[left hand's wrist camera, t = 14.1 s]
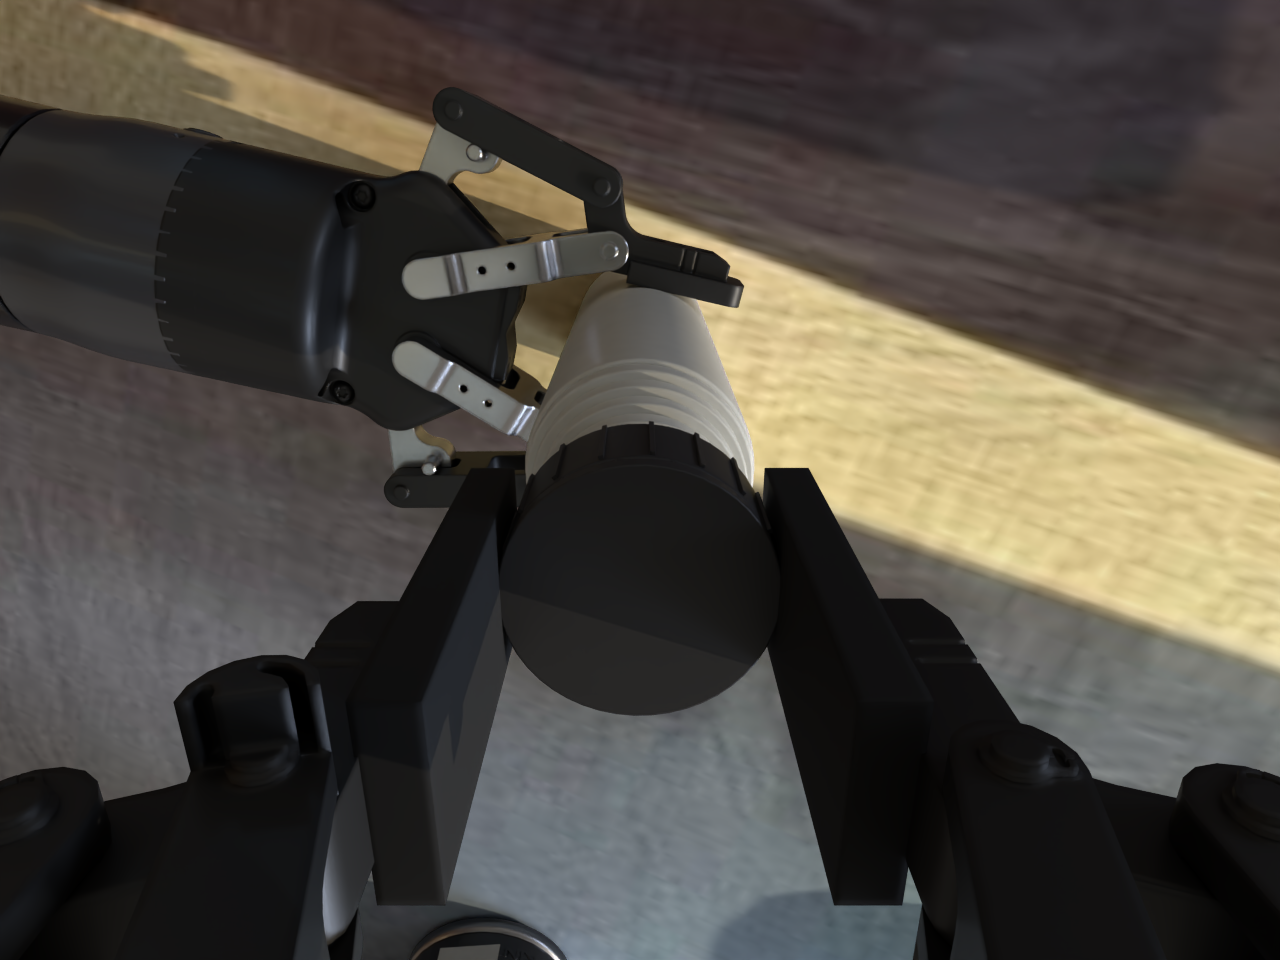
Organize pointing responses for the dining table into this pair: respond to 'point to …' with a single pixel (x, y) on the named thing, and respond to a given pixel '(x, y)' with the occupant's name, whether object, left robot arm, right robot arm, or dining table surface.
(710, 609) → the cap
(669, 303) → the bottle
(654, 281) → the right robot arm
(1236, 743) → the dining table surface
